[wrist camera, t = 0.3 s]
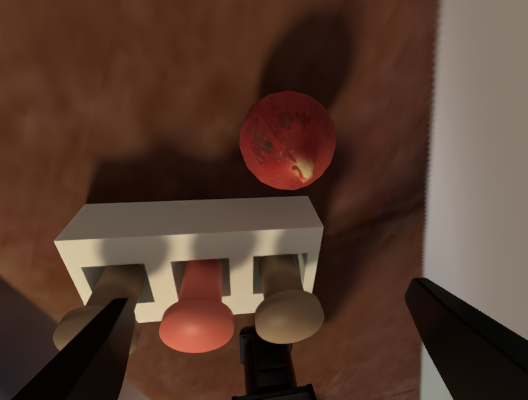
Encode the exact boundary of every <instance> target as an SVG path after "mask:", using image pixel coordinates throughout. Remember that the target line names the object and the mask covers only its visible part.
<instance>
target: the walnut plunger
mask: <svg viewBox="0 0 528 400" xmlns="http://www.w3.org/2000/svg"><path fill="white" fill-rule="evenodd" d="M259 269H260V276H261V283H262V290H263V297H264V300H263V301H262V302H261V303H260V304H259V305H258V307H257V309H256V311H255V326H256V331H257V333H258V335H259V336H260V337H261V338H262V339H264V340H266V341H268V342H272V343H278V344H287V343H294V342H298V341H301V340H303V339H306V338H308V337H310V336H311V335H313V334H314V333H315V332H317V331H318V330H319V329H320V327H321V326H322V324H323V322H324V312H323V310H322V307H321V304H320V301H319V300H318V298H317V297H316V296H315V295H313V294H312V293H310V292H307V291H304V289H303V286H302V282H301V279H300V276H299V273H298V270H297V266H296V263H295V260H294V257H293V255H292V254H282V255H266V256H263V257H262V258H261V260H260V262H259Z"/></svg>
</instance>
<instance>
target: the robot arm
mask: <svg viewBox="0 0 528 400" xmlns="http://www.w3.org/2000/svg"><path fill="white" fill-rule="evenodd" d="M405 301H406V304H407V306H408V309H409V311H410V313H411V316H412V318H413V320H414V323H415V325H416V327H417V330H418V332H419V334H420V337H421V339H422V341H423V343H424V345H425V348H426V349H427V351H428V353H429V355H430V357H431V359H432V360H433V363H434V364H435V366H436V368H437V370H438V372H439V374H440V375H441V377H442V379H443V381H444V383H445V385H446V387H447V388H448V390H449V392H450V394H451V396H452V398H453V400H528V340H526V339H525V338H523V337H521V336H520V335H518V334H516V333H515V332H513V331H511V330H510V329H508V328H507V327H505V326H503V325H502V324H500V323H499V322H497V321H495V320H494V319H492V318H490V317H489V316H487V315H486V314H484V313H482V312H481V311H479V310H478V309H476V308H474V307H472V306H471V305H469V304H468V303H466V302H465V301H463V300H461V299H459V298H458V297H456V296H454V295H453V294H451V293H450V292H448V291H446V290H445V289H443V288H442V287H440V286H439V285H437V284H435V283H434V282H432V281H430V280H429V279H427V278H413V279H412V280H411V282H410V284H409V286H408V289H407V291H406V293H405ZM135 320H136V316H135V312H134V309H133V306H132V302H131V300H130V298H129V297H120V298H114V299H113V300H111V301H110V302H109V303H108V304H107V305H106V306H105V307H104V308H103V309H102V310H101V311H100V312H99V313H98V314H97V315H96V316H95V317H94V318H93V319H92V320H91V321H90V322H89V323H88V324H87V325H86V326H85V327H84V328H83V329H82V330H81V331H80V332H79V333H78V334H77V335H76V336H75V337H74V338H73V339H72V340H71V341H70V342H69V343H68V344H67V345H66V346H65V347H64V348H63V349H62V350H61V351H60V352H59V353H58V354H57V355H56V356H54V357H53V358H52V359H51V360H50V361H49V362H48V364H46V366H44V367H43V368H42V369H41V370H40V371H39V372H38V373H37V374H36V375H35V376H34V377H33V378H32V379H31V380H30V381H29V382H28V383H27V384H26V385H25V386H24V387H23V388H22V389H21V390H20V391H19V392H18V393H17V394H16V395H15V396H14V397H13V398H12V399H11V400H118V397H119V394H120V390H121V387H122V383H123V380H124V376H125V372H126V367H127V362H128V357H129V352H130V347H131V342H132V337H133V332H134V327H135ZM291 346H292V343H287V344H278V343H272V342H268V341H266V340H264V339H262V338H261V337H260V336H259V335H258V333H257V331H256V330H252V331H243V332H241V333H240V363H241V364H244V371H245V389H246V396H239V397H237V396H233V397H232V400H317V399H316V396H315V393H314V390H313V386H312V384H307V385H306V386H300V387H297V382H296V377H295V373H294V368H293V363H292V358H291Z"/></svg>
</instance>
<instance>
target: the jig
mask: <svg viewBox="0 0 528 400" xmlns="http://www.w3.org/2000/svg"><path fill="white" fill-rule="evenodd" d="M323 228H324V227H323V225H322V223H321V221H320V219H319V217H318V215H317V213H316V211H315V209H314V207H313V205H312V203H311V201H310V199H309V198H308V196H290V197H263V198H237V199H210V200H184V201H157V202H130V203H104V204H85V205H84V206H83V207H82V208H81V210H80V211H79V212H78V213H77V214H76V215H75V217H74V218H73V219H72V220H71V221H70V223H69V224H68V225H67V226H66V227H65V228H64V230H63V231H62V232H61V233H60V234H59V235H58V237H57V238H56V239H55V240H54V243H55V245H56V247H57V249H58V251H59V253H60V255H61V257H62V259H63V261H64V263H65V265H66V267H67V269H68V271H69V274H70V276H71V278H72V280H73V282H74V284H75V286H76V288H77V290H78V292H79V294H80V296H81V298H82V300H83V302H84V304H85V305H86V303H87V302H88V300H89V298H90V296H91V294H92V292H93V290H94V288H95V286H96V284H97V283H98V281H99V279H100V277H101V275H102V273H103V271H104V269H105V267H106V266H108V265H124V264H139V265H141V266H142V267H143V268H144V270H145V272H146V278H145V281H144V284H143V287H142V289H141V292H140V295H139V298H138V301H137V304H136V307H135V310H134V312H135V316H136V320H137V322H138V323H142V322H153V321H162V317H163V314H164V312H165V311H166V309H167V308H169V307H170V306H171V305H172V304H174V303H176V302H178V300H179V295H180V289H181V284H182V278H183V273H184V267H185V264H186V262H187V261H188V260H203V259H218V260H219V261H220V262H221V264H222V303H224V304H226V305H227V306H228V307H229V308H230V309H231V311H232V313H233V314H244V313H255V311H256V309H257V307H258V305H259V304H260V303H261V302H262V301H263V300H264V297H263V290H262V283H261V276H260V269H259V262H260V260H261V258H262V257H263V256H266V255H282V254H292V255H293V257H294V260H295V263H296V266H297V270H298V273H299V276H300V279H301V282H302V286H303V289H304V291H307V292H310V293H312V290H313V284H314V279H315V273H316V268H317V262H318V256H319V251H320V245H321V240H322V234H323Z"/></svg>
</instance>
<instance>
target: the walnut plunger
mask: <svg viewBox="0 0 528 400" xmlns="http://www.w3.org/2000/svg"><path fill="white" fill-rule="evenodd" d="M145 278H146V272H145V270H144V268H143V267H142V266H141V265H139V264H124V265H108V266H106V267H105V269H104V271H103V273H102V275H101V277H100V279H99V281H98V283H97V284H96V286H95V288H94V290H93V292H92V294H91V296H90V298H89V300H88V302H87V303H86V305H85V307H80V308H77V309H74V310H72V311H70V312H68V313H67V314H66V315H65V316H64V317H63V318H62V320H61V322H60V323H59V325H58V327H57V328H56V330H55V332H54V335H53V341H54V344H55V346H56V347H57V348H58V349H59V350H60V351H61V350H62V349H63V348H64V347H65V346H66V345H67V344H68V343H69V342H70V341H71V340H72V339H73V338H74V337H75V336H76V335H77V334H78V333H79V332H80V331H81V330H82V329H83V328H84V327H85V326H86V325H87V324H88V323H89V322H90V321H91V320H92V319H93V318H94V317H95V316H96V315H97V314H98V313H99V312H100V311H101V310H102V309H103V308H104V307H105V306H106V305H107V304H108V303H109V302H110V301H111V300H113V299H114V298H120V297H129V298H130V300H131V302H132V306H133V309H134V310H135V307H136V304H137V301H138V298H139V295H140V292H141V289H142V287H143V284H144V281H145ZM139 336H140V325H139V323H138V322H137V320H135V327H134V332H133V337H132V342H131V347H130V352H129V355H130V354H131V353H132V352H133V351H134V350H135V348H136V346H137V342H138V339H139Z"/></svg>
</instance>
